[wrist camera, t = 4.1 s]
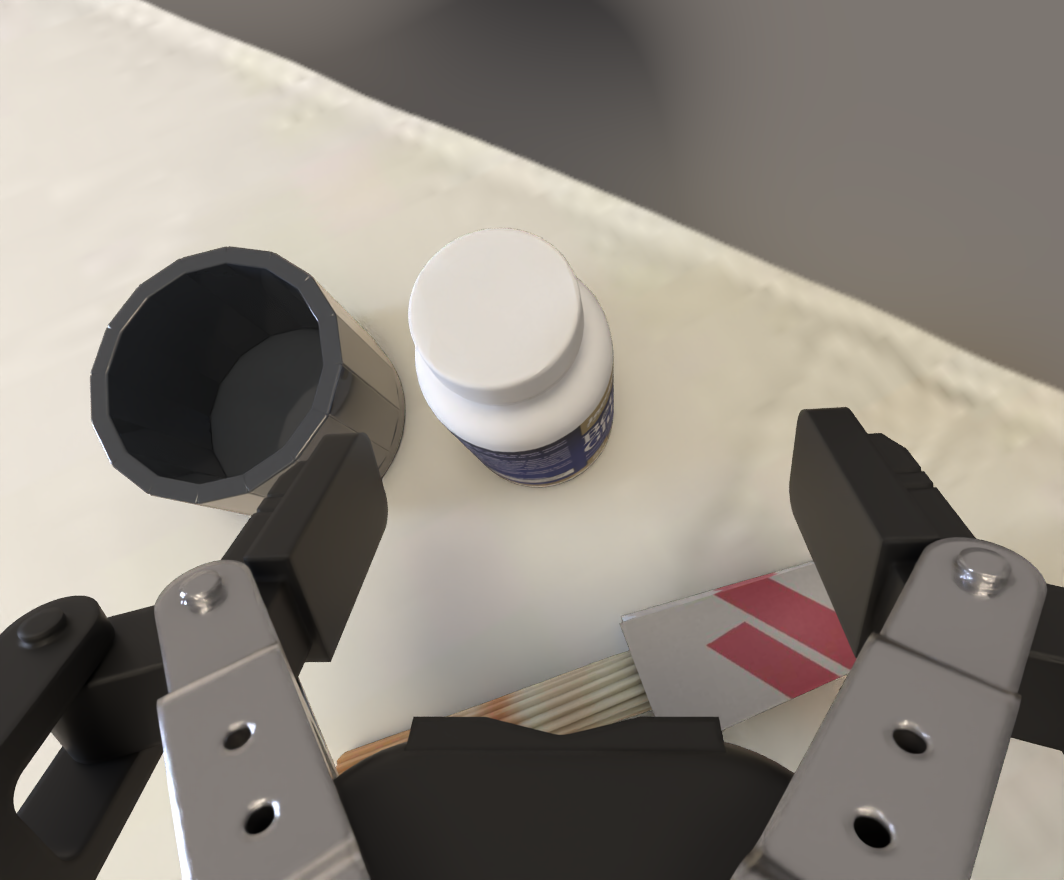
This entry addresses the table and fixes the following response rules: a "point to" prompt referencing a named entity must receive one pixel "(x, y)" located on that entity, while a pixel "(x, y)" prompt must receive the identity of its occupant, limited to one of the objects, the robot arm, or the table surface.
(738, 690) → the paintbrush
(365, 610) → the table surface
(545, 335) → the pill bottle
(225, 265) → the holder
